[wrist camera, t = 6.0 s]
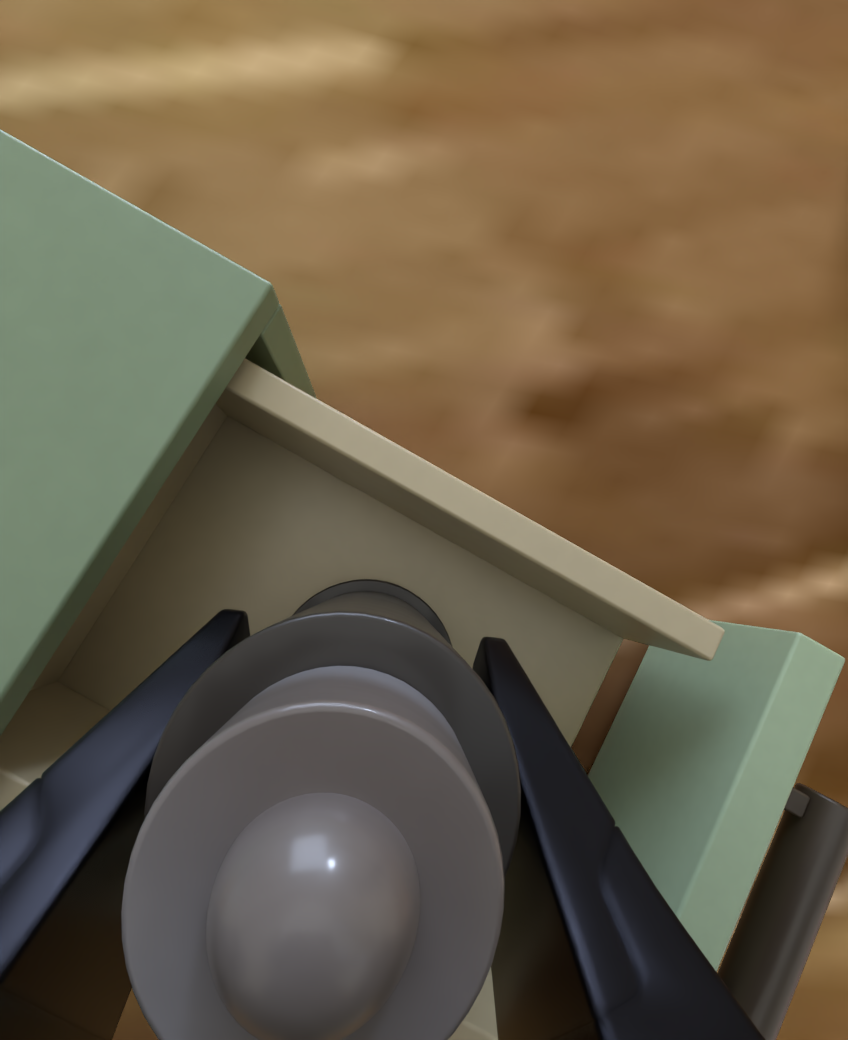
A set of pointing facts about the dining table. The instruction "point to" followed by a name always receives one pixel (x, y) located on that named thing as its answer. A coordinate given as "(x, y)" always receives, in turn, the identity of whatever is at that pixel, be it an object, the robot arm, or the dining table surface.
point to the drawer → (467, 619)
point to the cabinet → (101, 385)
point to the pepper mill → (325, 833)
